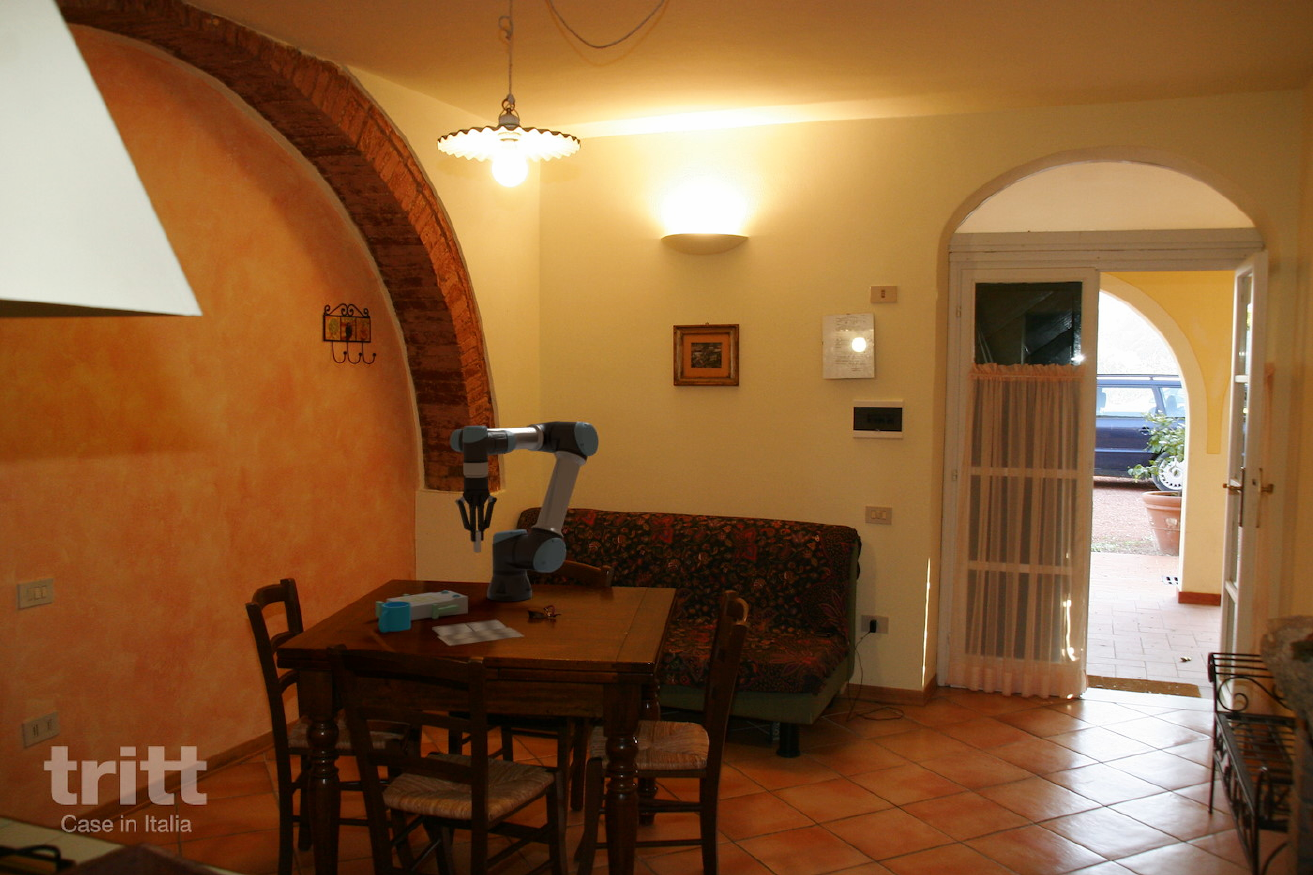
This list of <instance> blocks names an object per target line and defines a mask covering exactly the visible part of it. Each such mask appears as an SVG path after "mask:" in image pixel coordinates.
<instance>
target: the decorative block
mask: <svg viewBox="0 0 1313 875" xmlns="http://www.w3.org/2000/svg"><path fill="white" fill-rule="evenodd" d="M396 601H403V602H409V603H410V604H411V621H416V620H420V619H421V620H422V619H427V618H428V619H429V618H431V619H433V620H436V619H439V617H445V616H446V617H447V616H454V615H455V616H457V615H465V614H468V613H469V612H468V611H469V606H468V605H469V597H468V596H467V595H464V594H461V593H458V592H455V591H451V590H446V589H445V590H442V591H438V592H433V591H431V592H423V593H419V594H412V595H410V594H409V593H404V594H402V596H398V597H392V598H386V602H383V601H381V600H380V601H379V600H378V601H375V617H376V618H378V619H380V616H381V615H382V604H384V603H387V602H396Z"/></svg>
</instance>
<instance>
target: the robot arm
mask: <svg viewBox="0 0 1313 875" xmlns="http://www.w3.org/2000/svg"><path fill="white" fill-rule="evenodd" d="M449 439H450V440H449V441H450V442H449V444H450V447H451V449H452V450H453V451H455V452H457V453H462V458H463V460H462V461H463V463H462V464H463V475H464V477H463V493H462V496H461V497H460V498H458V499H457V498H456V499H455V503H456V505H457V506H458V510H459V513H460V518H461V521H462V525H463V528H464V530H467V531H469V533H470V542H472V543H473V545H472V546H473V552H474V553H479V554H480V553H482V542H484V540H485V538H484V537H485V535H484V534H485V531H486V529H490V526H491V521H492V517H493V512H494V508H495V504H496V502H497V501H498V498H497V497H495V496H493V495H491V492H490V491H489V477H488V476H489V456H494V455H506V454H510V453H512V452H514V451H515V450H527V451H529V452H543V453H549V454H553V456H554V458H555V459H556V460H555V463H554V467H553V470H552V472H551V476H550V479H549V484H548V486H547V489H546V493H545V496H544V499H543V502H542V506H541V508H540V512H539V516H538V518H537V520H536V521H537V522H536V523H535V525H533V526H531V527H530V529H529V532H528V531H527V529H525V528H524V529H523V528H522V529H511V530H502V531H497V532H495V533H494V534H493V536H492V543H491V545H492V546H491V548H492V549H491V550H492V555H491V556H492V575H491V579H490V583H489V585H488V589H487V592H486V594H487V595H486V596H487V599H489V600H491V601H496V602H518V601H519V602H520V601H526V600H528V599H531V598H532V596H533V591H532V586H531V583H530V581H529V577H528V572H527V571H534V572H538V573H553V572H555V571H556V570H558V569H559V568H560V567H561V566H562V565H563V563H564V562H565V560H566V556H567V549H566V548H567V546H566V543H565V541H564V534H563V532H562V528H563V526H564V522H565V518H566V515H567V512H568V509H569V506H570V502H571V499H572V495H573V493H574V489H575V487H576V486H575V485H576V482H577V479H578V476H579V473H580V469H581V467H582V466H584V465H586V464H587V462H588V457H591V456H594V455H596V453H597V451H598V449H599V436H598V432H597V429H596V428H595V427H594V425H592V424H591V423H589V422H584V421H561V420H558V421H555V420H554V421H548V422H547V421H546V422H542V423H530V424H528V425H527V426H524V427H501V428H500V427H498V428H497V427H496V428H494V427H493V428H488V427H487V425H486V426H485V425H466V426H464V427H463V428H461V429H459V428H458V429H456V430H454V431H453V432H452V433H451V435H450V438H449ZM466 503H467V505H468V509H469V512H467V509H466V505H465V504H466ZM486 503H487V505H486V509H485V504H486ZM467 513H469V517H468V514H467ZM484 513H485V514H484Z"/></svg>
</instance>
